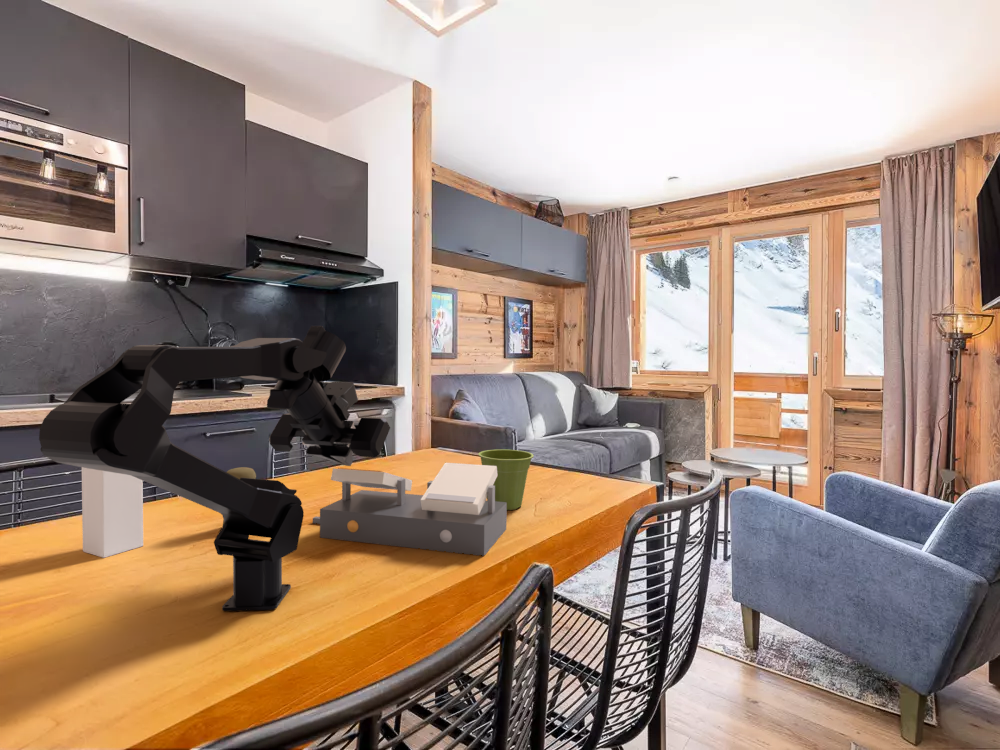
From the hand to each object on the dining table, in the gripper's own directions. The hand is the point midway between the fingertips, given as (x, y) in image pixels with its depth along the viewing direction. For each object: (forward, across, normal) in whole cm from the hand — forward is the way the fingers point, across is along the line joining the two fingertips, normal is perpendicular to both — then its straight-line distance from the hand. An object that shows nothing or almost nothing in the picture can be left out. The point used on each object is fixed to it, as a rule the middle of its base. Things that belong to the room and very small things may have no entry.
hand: (349, 463), depth 89 cm
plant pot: (+31, -19, -11) cm, 38 cm away
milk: (0, +35, +19) cm, 40 cm away
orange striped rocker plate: (+9, 0, -2) cm, 9 cm away
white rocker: (+9, -17, -2) cm, 19 cm away
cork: (+11, +23, +9) cm, 27 cm away
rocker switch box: (+15, -5, +4) cm, 17 cm away
